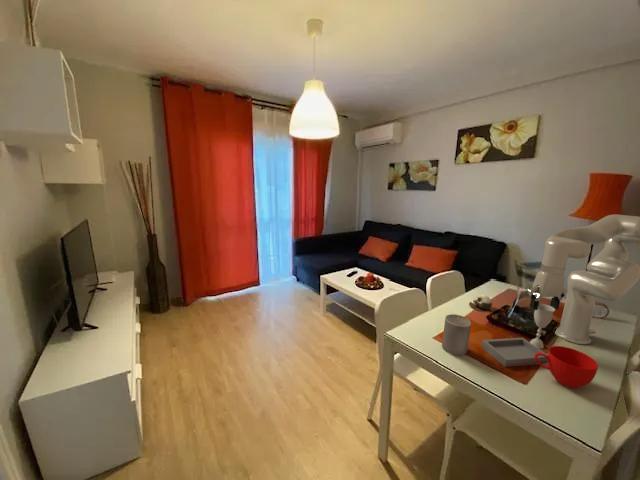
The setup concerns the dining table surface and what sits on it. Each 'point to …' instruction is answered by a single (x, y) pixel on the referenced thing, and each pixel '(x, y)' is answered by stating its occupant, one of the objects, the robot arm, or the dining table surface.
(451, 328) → the pillar candle
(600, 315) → the tin
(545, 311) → the chalice
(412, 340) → the dining table surface
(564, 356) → the ceramic cup
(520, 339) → the tray
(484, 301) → the skull
